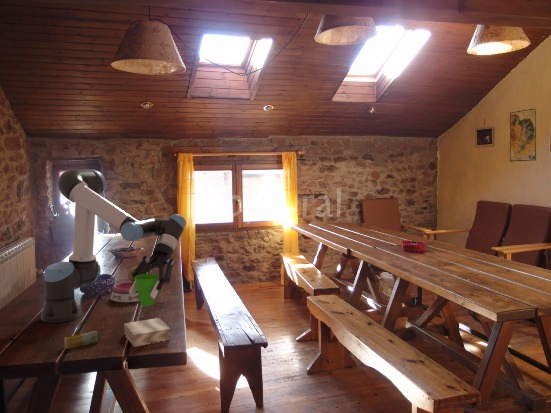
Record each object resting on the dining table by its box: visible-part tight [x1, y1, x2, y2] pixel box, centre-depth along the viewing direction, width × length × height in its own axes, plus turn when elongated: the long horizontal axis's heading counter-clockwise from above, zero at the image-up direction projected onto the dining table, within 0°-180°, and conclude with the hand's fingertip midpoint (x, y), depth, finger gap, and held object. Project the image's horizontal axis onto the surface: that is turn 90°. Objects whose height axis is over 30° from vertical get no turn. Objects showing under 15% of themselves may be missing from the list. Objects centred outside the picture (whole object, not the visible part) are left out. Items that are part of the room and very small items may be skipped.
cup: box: [135, 273, 159, 307], centre depth 181 cm, size 9×9×11 cm
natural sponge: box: [127, 265, 138, 282], centre depth 260 cm, size 9×9×10 cm
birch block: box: [123, 317, 171, 348], centre depth 183 cm, size 14×14×5 cm
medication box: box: [63, 330, 100, 350], centre depth 175 cm, size 12×3×4 cm, turn 129°
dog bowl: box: [109, 281, 140, 304], centre depth 234 cm, size 18×19×7 cm
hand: (141, 295), depth 178 cm, fingers closed on cup, 9 cm apart
